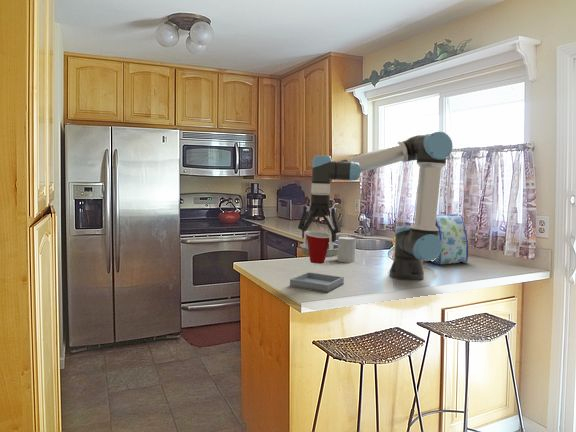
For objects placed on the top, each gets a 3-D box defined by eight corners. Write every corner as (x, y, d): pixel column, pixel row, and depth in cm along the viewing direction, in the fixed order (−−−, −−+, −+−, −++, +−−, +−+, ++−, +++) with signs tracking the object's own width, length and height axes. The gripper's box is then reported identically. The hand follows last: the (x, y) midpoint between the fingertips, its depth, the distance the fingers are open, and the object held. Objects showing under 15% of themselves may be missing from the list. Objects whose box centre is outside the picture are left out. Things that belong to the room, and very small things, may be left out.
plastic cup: (321, 266, 176) (322, 235, 175) (299, 262, 182) (300, 233, 181) (336, 262, 184) (337, 233, 183) (314, 258, 191) (315, 230, 190)
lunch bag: (444, 258, 256) (447, 212, 254) (469, 263, 242) (472, 215, 240) (417, 260, 245) (419, 213, 243) (441, 266, 231) (444, 216, 228)
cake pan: (350, 254, 261) (350, 246, 261) (322, 259, 244) (322, 250, 243) (318, 248, 278) (319, 241, 278) (290, 252, 261) (290, 244, 261)
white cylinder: (342, 258, 246) (343, 236, 245) (358, 260, 241) (359, 238, 240) (333, 260, 239) (334, 237, 237) (349, 263, 233) (350, 239, 232)
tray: (343, 284, 188) (343, 277, 187) (327, 292, 173) (327, 285, 173) (308, 278, 195) (308, 272, 195) (289, 286, 181) (290, 279, 181)
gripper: (350, 195, 179) (348, 249, 181) (299, 192, 190) (297, 244, 192) (343, 195, 172) (341, 252, 174) (290, 192, 183) (289, 246, 185)
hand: (318, 248), depth 183 cm, fingers closed on plastic cup, 11 cm apart
